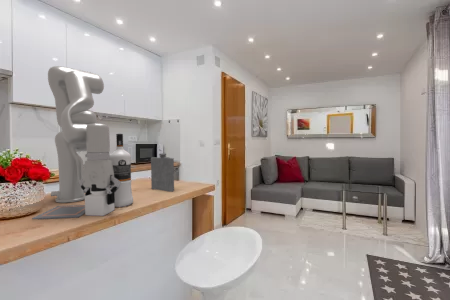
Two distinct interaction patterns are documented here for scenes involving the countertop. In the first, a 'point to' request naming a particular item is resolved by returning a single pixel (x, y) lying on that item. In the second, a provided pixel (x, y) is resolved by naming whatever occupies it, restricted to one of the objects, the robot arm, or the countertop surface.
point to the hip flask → (162, 173)
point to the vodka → (122, 173)
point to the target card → (63, 212)
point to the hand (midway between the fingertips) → (100, 203)
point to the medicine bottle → (97, 202)
